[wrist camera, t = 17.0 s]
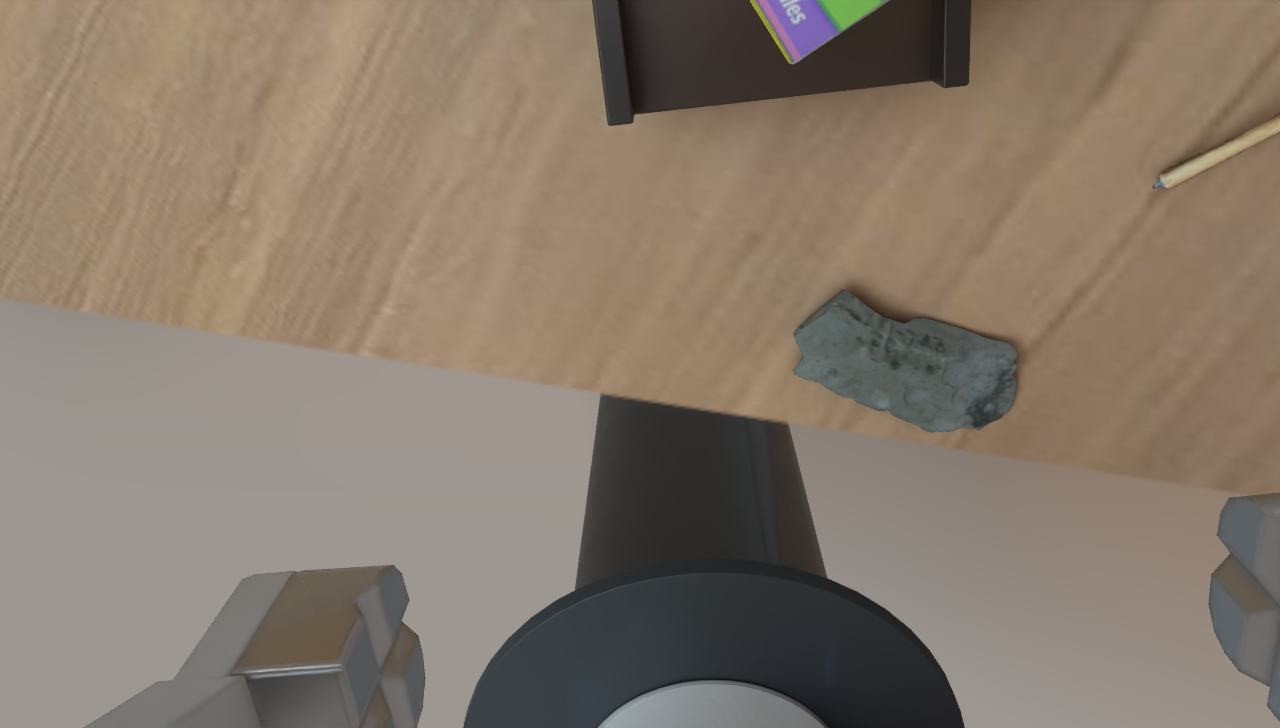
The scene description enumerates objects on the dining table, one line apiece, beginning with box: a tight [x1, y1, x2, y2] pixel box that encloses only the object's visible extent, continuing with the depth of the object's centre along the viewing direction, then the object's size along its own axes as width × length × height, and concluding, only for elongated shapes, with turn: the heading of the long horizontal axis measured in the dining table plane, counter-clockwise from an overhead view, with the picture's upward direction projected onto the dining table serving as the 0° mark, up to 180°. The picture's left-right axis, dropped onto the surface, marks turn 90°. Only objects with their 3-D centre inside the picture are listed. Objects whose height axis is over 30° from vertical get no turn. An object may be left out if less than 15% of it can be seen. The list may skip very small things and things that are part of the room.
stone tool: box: [793, 290, 1018, 432], centre depth 41 cm, size 10×2×5 cm
